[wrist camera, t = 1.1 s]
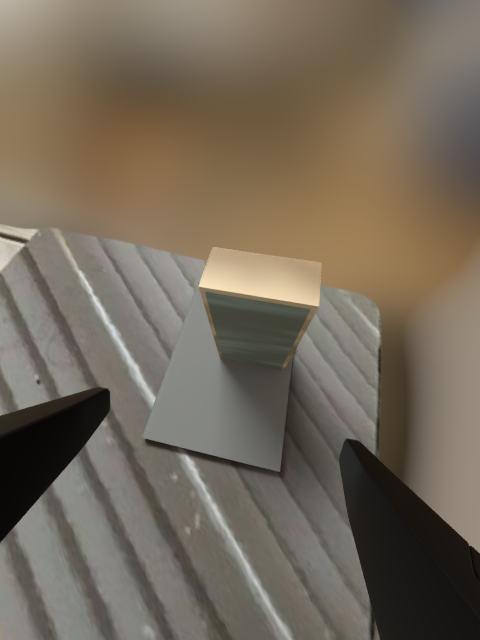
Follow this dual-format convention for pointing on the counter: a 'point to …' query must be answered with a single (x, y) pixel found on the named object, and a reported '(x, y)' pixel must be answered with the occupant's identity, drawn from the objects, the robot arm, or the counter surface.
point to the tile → (259, 304)
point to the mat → (219, 400)
